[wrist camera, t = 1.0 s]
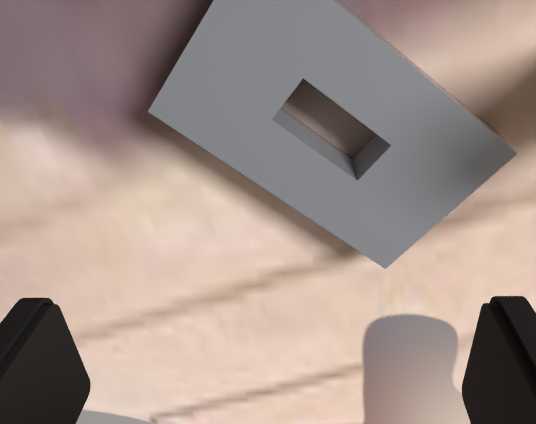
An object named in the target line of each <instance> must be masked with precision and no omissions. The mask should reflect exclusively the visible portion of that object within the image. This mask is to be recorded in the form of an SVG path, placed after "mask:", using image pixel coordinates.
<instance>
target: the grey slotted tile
mask: <svg viewBox="0 0 536 424" xmlns="http://www.w3.org/2000/svg"><path fill="white" fill-rule="evenodd" d="M302 79H305V80H306V81H307V82H309V83H310V84H311V85H313V86H314V87H315V88H317V89H318V90H319V91H321V92H322V93H323V94H324V95H326V96H327V97H328V98H330V99H331V100H332V101H334V102H335V103H336V104H338V105H339V106H340V107H342V108H343V109H344V110H346V111H347V112H348V113H349V114H351V115H352V116H353V117H355V118H356V119H357V120H359V121H360V122H361V123H363V124H364V125H365V126H367V127H368V128H369V129H370V130H372V131H373V132H374V133H376V135H375V136H374V137H373V138H372V139H371V140H370V141H369V142H368V143H367V145H366V146H365V147H364V148H363V149H362V150H361V151H360V152H359V153H358V154H357V155H356V156H355V158H354V159H351V158H350V157H348V156H347V155H346V154H344V153H343V152H342V151H340V150H339V149H337V148H336V147H335V146H333V145H332V144H331V143H329V142H328V141H326V140H325V139H324V138H322V137H321V136H320V135H318V134H317V133H315V132H314V131H313V130H311V129H310V128H309V127H307V126H306V125H304V124H303V123H302V122H300V121H299V120H298V119H296V118H295V117H294V116H292V115H291V114H289V113H288V112H287V111H285V110H284V109H283V108H281V107H282V105H283V104H284V103H285V101H286V100H287V99H288V97H289V96H290V95H291V94H292V92H293V91H294V90H295V88H296V87H297V86H298V84H299V83H300V82H301V80H302ZM148 112H149V113H151V114H152V115H154V116H155V117H157V118H158V119H160V120H161V121H163V122H164V123H166V124H167V125H169V126H170V127H172V128H173V129H175V130H176V131H178V132H179V133H181V134H182V135H184V136H185V137H187V138H188V139H190V140H191V141H193V142H194V143H196V144H197V145H199V146H200V147H202V148H203V149H205V150H206V151H208V152H209V153H211V154H212V155H214V156H215V157H217V158H219V159H220V160H222V161H223V162H225V163H226V164H228V165H229V166H231V167H232V168H234V169H235V170H237V171H238V172H240V173H241V174H243V175H244V176H246V177H247V178H249V179H250V180H252V181H253V182H255V183H256V184H258V185H259V186H261V187H262V188H264V189H265V190H267V191H268V192H270V193H271V194H273V195H274V196H276V197H277V198H279V199H280V200H282V201H284V202H285V203H287V204H288V205H290V206H291V207H293V208H294V209H296V210H297V211H299V212H300V213H302V214H303V215H305V216H306V217H308V218H309V219H311V220H312V221H314V222H315V223H317V224H318V225H320V226H321V227H323V228H324V229H326V230H327V231H329V232H330V233H332V234H333V235H335V236H336V237H338V238H339V239H341V240H342V241H344V242H345V243H347V244H349V245H350V246H352V247H353V248H355V249H356V250H358V251H359V252H361V253H362V254H364V255H365V256H367V257H368V258H370V259H371V260H373V261H374V262H376V263H377V264H379V265H380V266H382V267H383V268H385V269H386V268H387V267H388V266H389V265H390V264H392V263H393V262H394V261H395V260H396V259H397V258H398V257H400V256H401V255H402V254H403V253H404V252H405V251H406V250H408V249H409V248H410V247H411V246H412V245H413V244H414V243H416V242H417V241H418V240H419V239H420V238H421V237H422V236H424V235H425V234H426V233H427V232H428V231H429V230H430V229H432V228H433V227H434V226H435V225H436V224H437V223H438V222H440V221H441V220H442V219H443V218H444V217H445V216H446V215H448V214H449V213H450V212H451V211H452V210H453V209H454V208H456V207H457V206H458V205H459V204H460V203H461V202H462V201H464V200H465V199H466V198H467V197H468V196H469V195H470V194H472V193H473V192H474V191H475V190H476V189H477V188H478V187H480V186H481V185H482V184H483V183H484V182H485V181H486V180H488V179H489V178H490V177H491V176H492V175H493V174H494V173H496V172H497V171H498V170H499V169H500V168H501V167H502V166H504V165H505V164H506V163H507V162H508V161H509V160H510V159H512V158H513V157H514V156H515V155H516V154H517V153H516V152H515V151H514V150H513V149H512V148H511V147H510V146H509V145H508V144H507V143H506V142H505V141H504V140H503V139H502V138H501V137H500V136H499V135H498V134H497V133H496V132H495V131H494V130H492V129H491V128H490V127H489V126H488V125H486V124H485V123H484V122H483V121H482V120H481V119H479V118H478V117H477V116H476V115H475V114H473V113H472V112H471V111H470V110H469V109H467V108H466V107H465V106H464V105H463V104H461V103H460V102H459V101H458V100H457V99H456V98H454V97H453V96H452V95H451V94H450V93H448V92H447V91H446V90H445V89H444V88H442V87H441V86H440V85H439V84H438V83H436V82H435V81H434V80H433V79H432V78H431V77H429V76H428V75H427V74H426V73H425V72H423V71H422V70H421V69H420V68H419V67H417V66H416V65H415V64H414V63H413V62H411V61H410V60H409V59H408V58H407V57H406V56H404V55H403V54H402V53H401V52H400V51H398V50H397V49H396V48H395V47H394V46H392V45H391V44H390V43H389V42H388V41H386V40H385V39H384V38H383V37H382V36H381V35H379V34H378V33H377V32H376V31H375V30H373V29H372V28H371V27H370V26H369V25H367V24H366V23H365V22H364V21H363V20H361V19H360V18H359V17H358V16H357V15H356V14H354V13H353V12H352V11H351V10H350V9H348V8H347V7H346V6H345V5H344V4H342V3H341V2H340V1H339V0H214V1H213V2H212V4H211V6H210V7H209V9H208V11H207V12H206V14H205V16H204V17H203V19H202V21H201V22H200V24H199V26H198V28H197V29H196V31H195V33H194V34H193V36H192V38H191V39H190V41H189V43H188V44H187V46H186V48H185V50H184V51H183V53H182V55H181V56H180V58H179V60H178V61H177V63H176V65H175V66H174V68H173V70H172V71H171V73H170V75H169V77H168V78H167V80H166V82H165V83H164V85H163V87H162V88H161V90H160V92H159V93H158V95H157V97H156V99H155V100H154V102H153V104H152V105H151V107H150V109H149V110H148Z"/></svg>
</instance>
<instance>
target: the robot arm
mask: <svg viewBox="0 0 536 424" xmlns="http://www.w3.org/2000/svg"><path fill="white" fill-rule="evenodd" d="M89 392H90V379H89V377H88V374H87V372H86V370H85V367H84V365H83V362H82V360H81V357H80V355H79V353H78V350H77V348H76V345H75V343H74V341H73V338H72V336H71V333H70V331H69V329H68V326H67V324H66V321H65V319H64V316H63V314H62V312H61V309H60V307H59V306H58V305H57V304H54V303H53V301H52V300H51V299H49V298H22V299H20V300H19V301H18V302H17V303H16V304H15V305H14V307H13V308H12V309H11V310H10V312H9V313H8V314H7V316H6V317H5V318H4V319H3V321H2V322H1V323H0V424H76V422H77V419H78V417H79V415H80V413H81V411H82V409H83V406H84V404H85V402H86V400H87V398H88V395H89ZM462 396H463V401H464V404H465V407H466V410H467V413H468V416H469V419H470V422H471V424H536V313H535V312H534V310H533V308H532V307H531V305H530V303H529V302H528V301H527V299H526V298H525V297H523V296H495V297H492V298H491V300H490V303H484V304H483V305H482V307H481V311H480V315H479V319H478V323H477V327H476V331H475V335H474V339H473V343H472V347H471V351H470V355H469V359H468V364H467V368H466V372H465V376H464V380H463V384H462Z"/></svg>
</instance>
